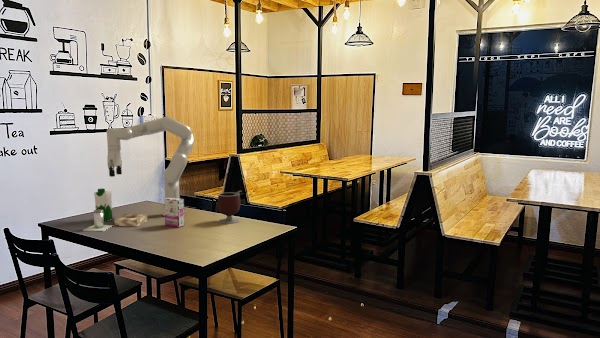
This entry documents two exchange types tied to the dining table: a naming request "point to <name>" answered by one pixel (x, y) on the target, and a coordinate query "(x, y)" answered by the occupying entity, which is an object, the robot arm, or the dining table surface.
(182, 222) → the candy bar box
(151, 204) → the dining table surface
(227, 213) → the mate gourd
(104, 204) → the milk carton
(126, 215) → the housing block
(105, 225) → the rubber mat
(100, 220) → the silver metal can
